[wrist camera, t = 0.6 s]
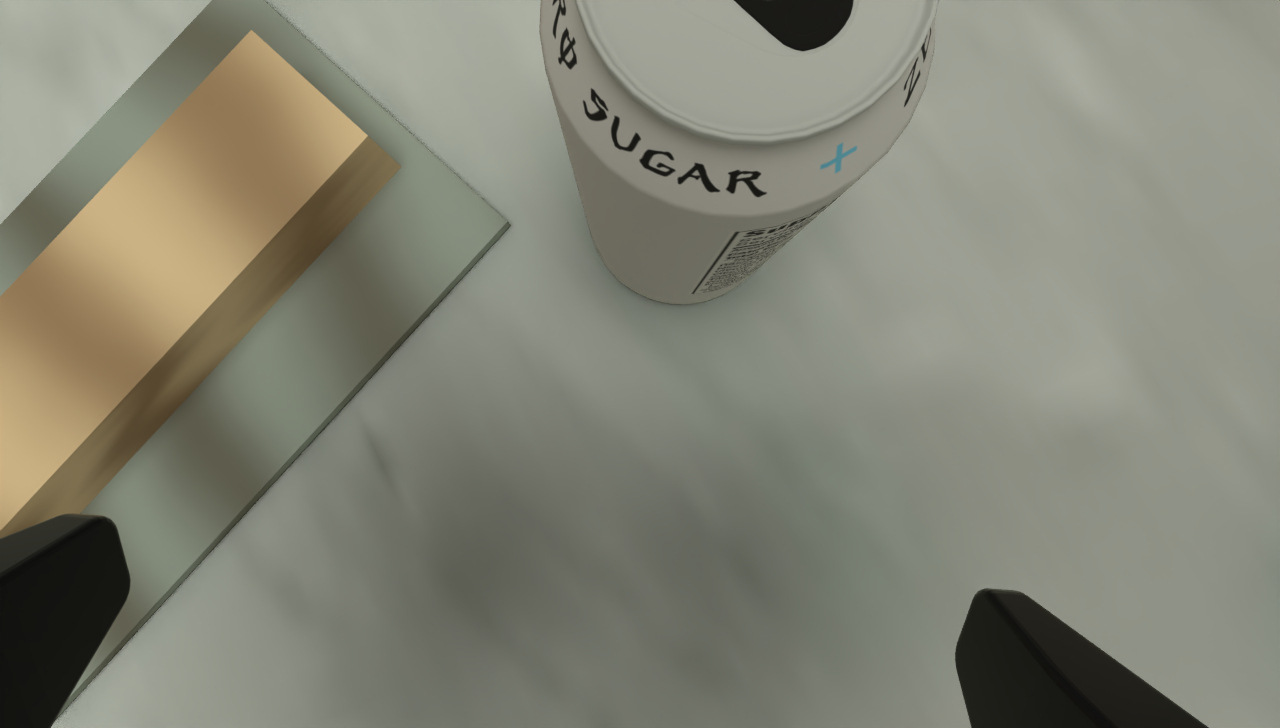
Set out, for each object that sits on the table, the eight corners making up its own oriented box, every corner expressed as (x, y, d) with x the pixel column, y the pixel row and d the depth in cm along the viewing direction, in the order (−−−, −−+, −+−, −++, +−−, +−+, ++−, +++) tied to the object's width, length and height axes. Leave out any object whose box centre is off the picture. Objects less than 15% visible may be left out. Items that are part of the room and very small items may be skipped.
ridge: (54, 720, 24) (-49, 782, 20) (-215, 473, 24) (-366, 489, 20) (510, 225, 24) (489, 198, 21) (245, -16, 24) (178, -85, 21)
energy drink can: (672, 92, 24) (737, -371, 9) (805, 210, 24) (1087, -63, 9) (552, 225, 24) (423, -28, 9) (686, 344, 24) (779, 286, 9)
